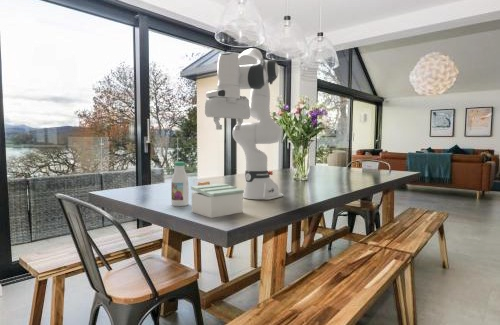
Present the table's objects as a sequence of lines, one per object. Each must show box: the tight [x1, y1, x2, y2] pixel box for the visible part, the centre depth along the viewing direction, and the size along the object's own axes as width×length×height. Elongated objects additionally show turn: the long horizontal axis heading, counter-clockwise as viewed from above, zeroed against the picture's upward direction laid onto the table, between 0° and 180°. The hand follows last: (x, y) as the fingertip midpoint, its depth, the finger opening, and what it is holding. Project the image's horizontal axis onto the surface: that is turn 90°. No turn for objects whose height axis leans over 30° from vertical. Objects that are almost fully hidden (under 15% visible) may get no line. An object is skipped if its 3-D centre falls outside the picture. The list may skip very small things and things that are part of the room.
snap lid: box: [190, 181, 245, 197], centre depth 137 cm, size 16×19×2 cm
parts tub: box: [191, 191, 244, 219], centre depth 136 cm, size 16×14×8 cm
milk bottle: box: [170, 161, 190, 207], centre depth 151 cm, size 8×8×20 cm
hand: (228, 129), depth 129 cm, fingers open, 8 cm apart
